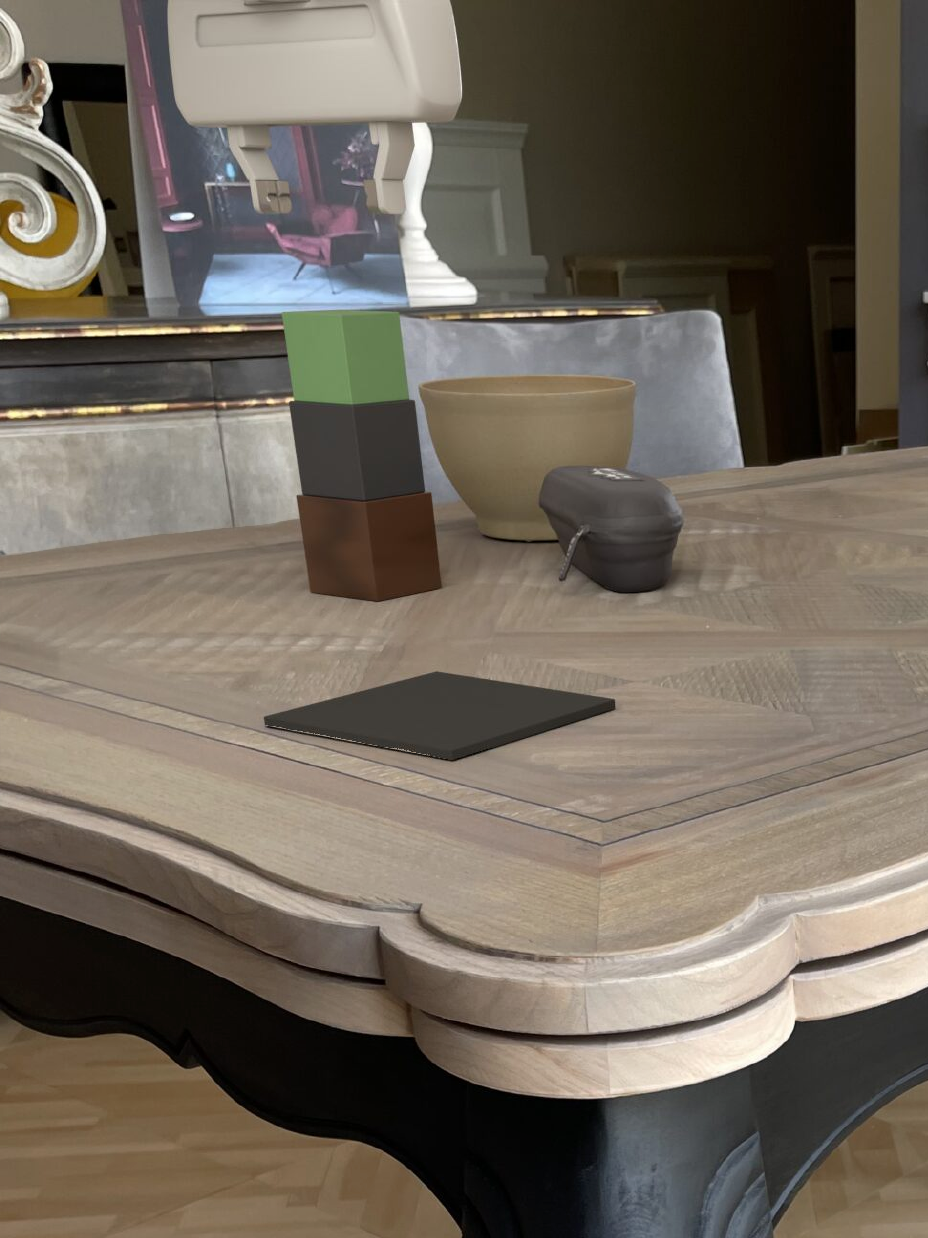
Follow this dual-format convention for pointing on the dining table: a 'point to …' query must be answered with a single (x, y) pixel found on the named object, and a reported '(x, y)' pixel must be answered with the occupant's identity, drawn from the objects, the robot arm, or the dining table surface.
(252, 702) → the dining table surface
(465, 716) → the coaster
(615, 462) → the planter bowl
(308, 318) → the green block
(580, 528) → the glasses case
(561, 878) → the dining table surface
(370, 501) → the walnut block
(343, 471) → the charcoal block
